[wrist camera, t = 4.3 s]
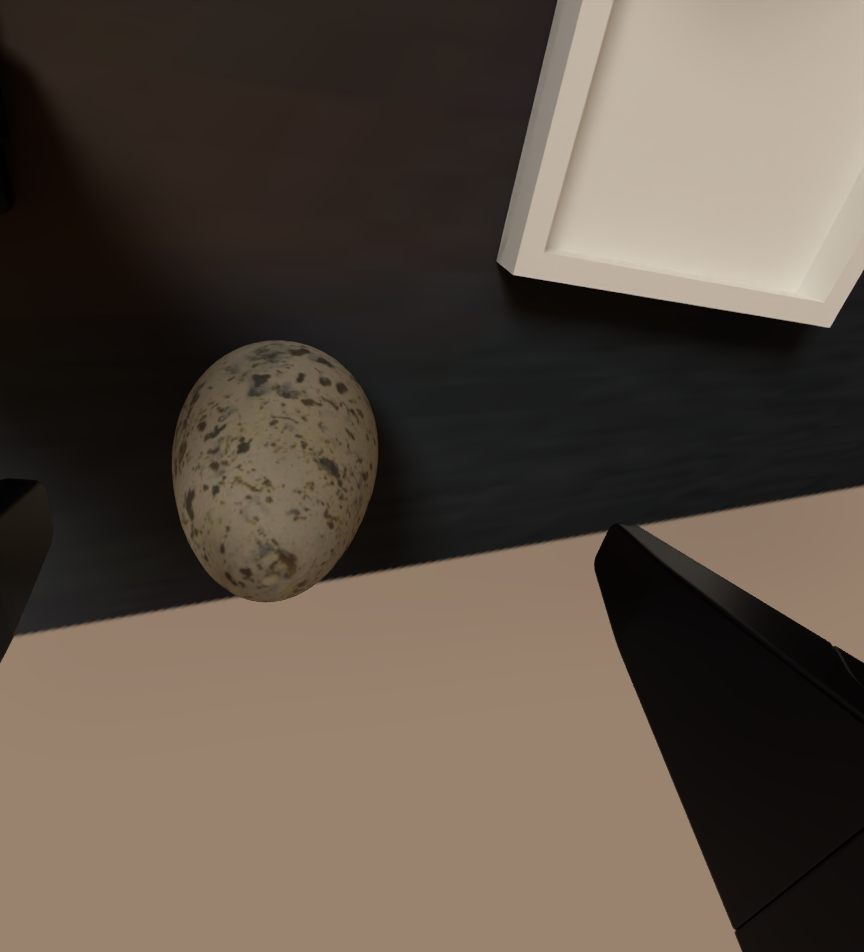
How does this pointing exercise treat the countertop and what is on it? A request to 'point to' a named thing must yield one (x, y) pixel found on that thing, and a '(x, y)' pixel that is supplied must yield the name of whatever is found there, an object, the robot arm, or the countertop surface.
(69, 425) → the countertop surface
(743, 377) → the countertop surface
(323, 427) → the decorative egg
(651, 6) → the tray
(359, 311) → the countertop surface
